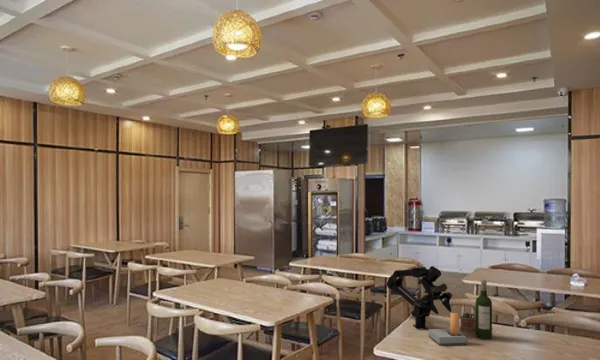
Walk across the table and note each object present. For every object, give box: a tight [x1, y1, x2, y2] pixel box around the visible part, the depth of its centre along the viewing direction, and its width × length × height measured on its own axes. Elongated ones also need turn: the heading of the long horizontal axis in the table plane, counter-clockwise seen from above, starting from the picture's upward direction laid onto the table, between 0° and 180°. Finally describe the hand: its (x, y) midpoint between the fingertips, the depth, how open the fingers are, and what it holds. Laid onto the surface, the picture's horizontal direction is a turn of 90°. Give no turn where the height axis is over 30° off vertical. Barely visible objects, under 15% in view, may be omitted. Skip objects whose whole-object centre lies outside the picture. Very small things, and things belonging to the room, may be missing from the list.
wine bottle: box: [475, 279, 493, 341], centre depth 216 cm, size 8×8×30 cm
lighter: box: [459, 311, 476, 334], centre depth 225 cm, size 8×3×10 cm, turn 62°
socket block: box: [428, 328, 467, 346], centre depth 210 cm, size 12×14×4 cm
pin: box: [449, 312, 460, 336], centre depth 209 cm, size 4×4×13 cm
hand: (444, 312), depth 215 cm, fingers open, 9 cm apart
